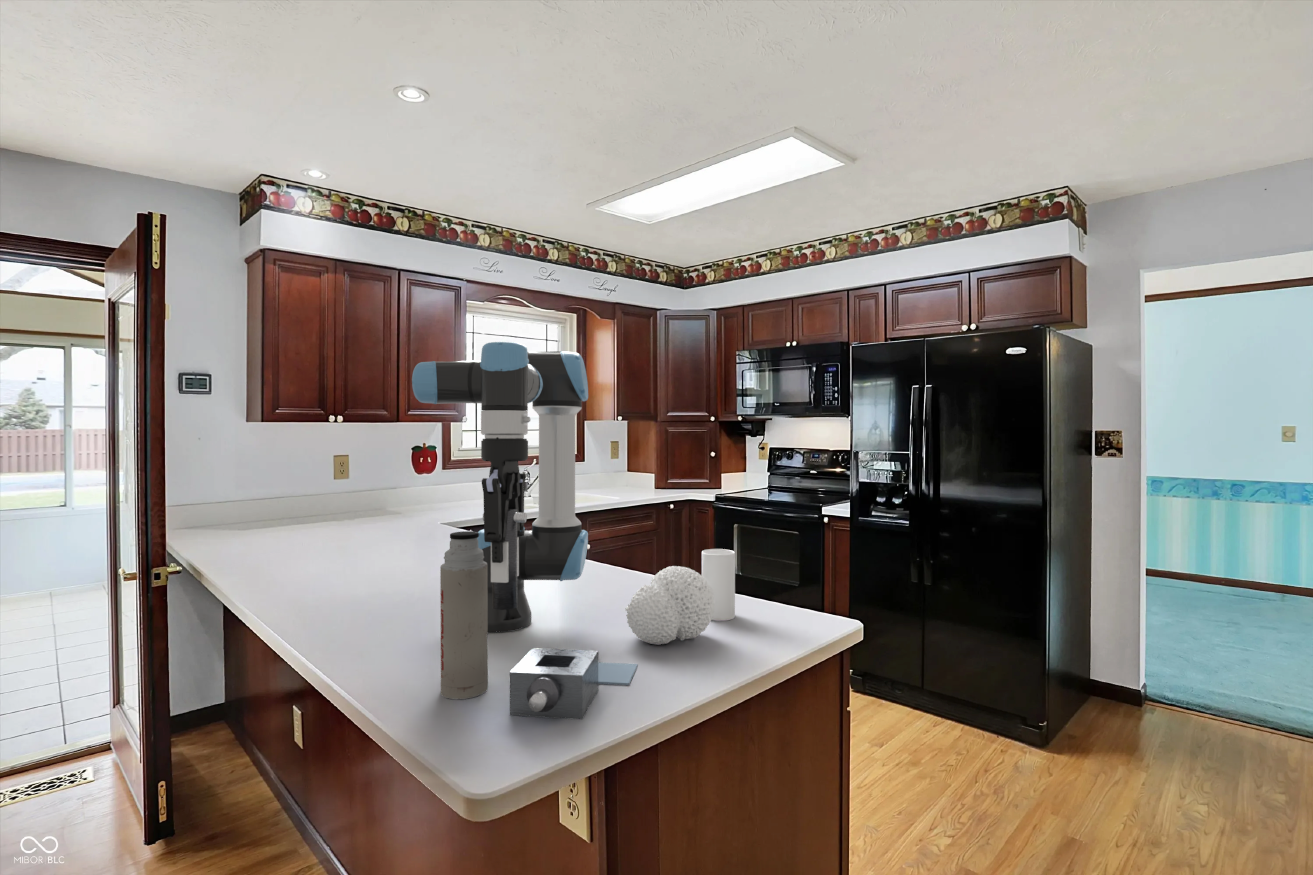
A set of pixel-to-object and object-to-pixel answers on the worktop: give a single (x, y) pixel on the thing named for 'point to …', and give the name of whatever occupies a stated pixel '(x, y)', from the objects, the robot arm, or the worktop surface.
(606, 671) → the mat
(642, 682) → the worktop surface
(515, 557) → the key
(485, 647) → the thermos bottle
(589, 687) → the block
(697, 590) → the white coral
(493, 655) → the worktop surface
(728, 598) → the cup
